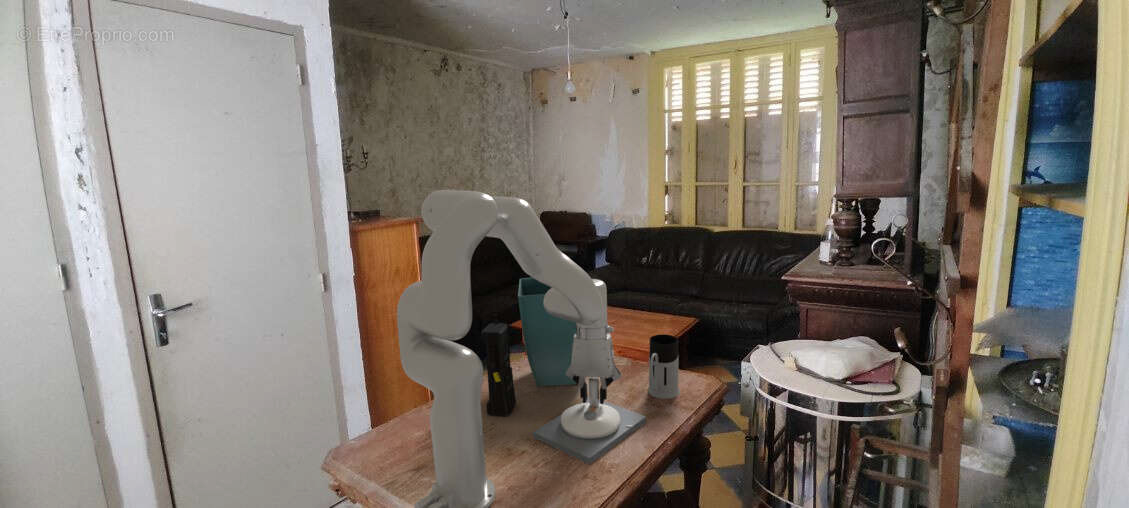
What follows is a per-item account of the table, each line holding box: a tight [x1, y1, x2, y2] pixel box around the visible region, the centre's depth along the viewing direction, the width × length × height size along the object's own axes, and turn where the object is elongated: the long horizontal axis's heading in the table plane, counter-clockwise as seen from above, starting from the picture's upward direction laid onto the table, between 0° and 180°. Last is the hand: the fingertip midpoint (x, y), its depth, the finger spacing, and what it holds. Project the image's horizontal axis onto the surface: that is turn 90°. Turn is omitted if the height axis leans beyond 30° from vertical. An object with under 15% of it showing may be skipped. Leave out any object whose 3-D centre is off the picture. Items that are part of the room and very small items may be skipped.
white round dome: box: [561, 377, 620, 439], centre depth 124 cm, size 14×14×8 cm
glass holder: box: [647, 333, 681, 400], centre depth 139 cm, size 9×14×15 cm, turn 151°
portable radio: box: [480, 314, 517, 417], centre depth 133 cm, size 8×6×25 cm
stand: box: [532, 397, 647, 465], centre depth 125 cm, size 22×17×2 cm
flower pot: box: [517, 277, 578, 387], centre depth 152 cm, size 20×20×28 cm
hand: (593, 400), depth 130 cm, fingers open, 3 cm apart
